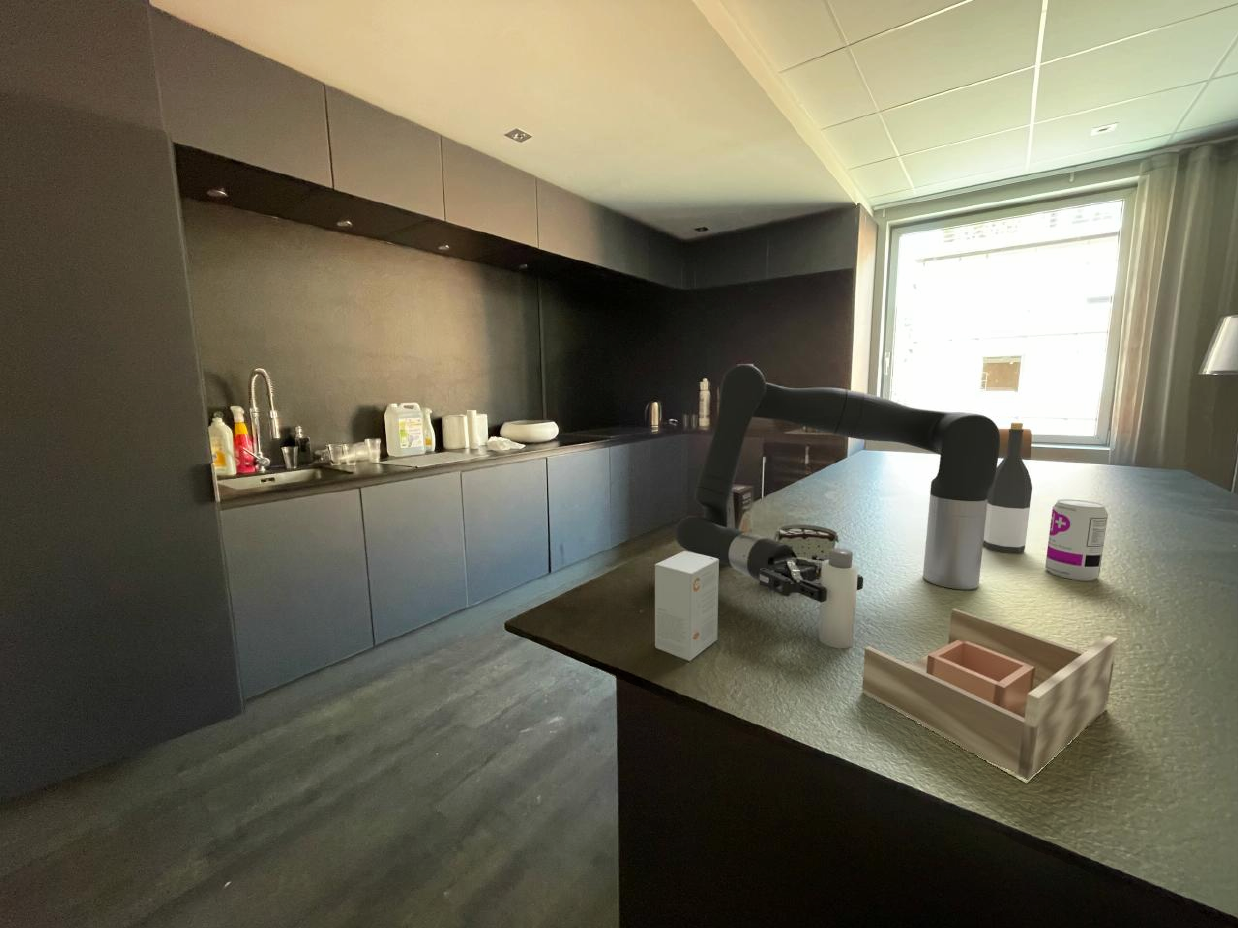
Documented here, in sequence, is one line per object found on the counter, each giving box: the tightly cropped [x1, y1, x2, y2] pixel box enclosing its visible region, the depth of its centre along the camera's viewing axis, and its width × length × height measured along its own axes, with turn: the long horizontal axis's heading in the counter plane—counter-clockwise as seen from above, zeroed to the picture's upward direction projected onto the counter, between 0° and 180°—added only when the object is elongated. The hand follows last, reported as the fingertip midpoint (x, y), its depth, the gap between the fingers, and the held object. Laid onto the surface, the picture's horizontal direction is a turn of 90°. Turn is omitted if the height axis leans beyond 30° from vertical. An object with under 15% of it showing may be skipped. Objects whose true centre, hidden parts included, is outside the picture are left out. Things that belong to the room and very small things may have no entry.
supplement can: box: [1044, 498, 1109, 582], centre depth 100 cm, size 8×8×15 cm
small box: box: [654, 550, 720, 662], centre depth 73 cm, size 8×6×13 cm
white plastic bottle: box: [818, 547, 859, 650], centre depth 73 cm, size 5×5×14 cm
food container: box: [773, 523, 840, 577], centre depth 101 cm, size 12×6×10 cm, turn 84°
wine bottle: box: [983, 422, 1033, 555], centre depth 115 cm, size 8×8×30 cm
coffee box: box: [727, 484, 755, 534], centre depth 112 cm, size 9×6×16 cm
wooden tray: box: [861, 607, 1118, 780], centre depth 59 cm, size 22×17×9 cm
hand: (844, 589), depth 73 cm, fingers open, 8 cm apart
